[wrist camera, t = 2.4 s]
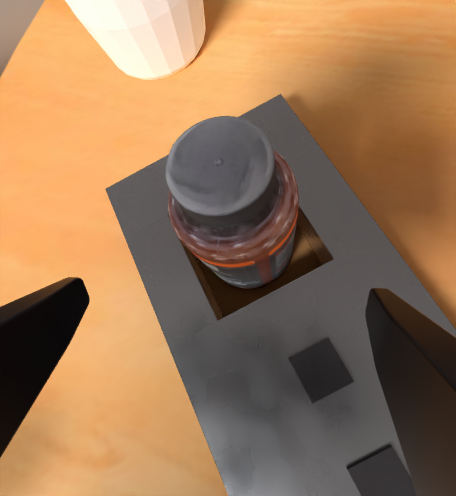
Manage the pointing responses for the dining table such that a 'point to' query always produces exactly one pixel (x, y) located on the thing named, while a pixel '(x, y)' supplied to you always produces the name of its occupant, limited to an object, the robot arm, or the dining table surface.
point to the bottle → (145, 33)
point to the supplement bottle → (233, 200)
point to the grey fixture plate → (283, 335)
